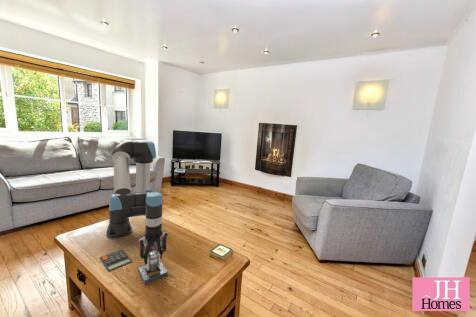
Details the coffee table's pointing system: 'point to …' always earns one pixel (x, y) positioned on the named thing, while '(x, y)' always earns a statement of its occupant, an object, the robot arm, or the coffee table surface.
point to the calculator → (115, 260)
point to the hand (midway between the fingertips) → (153, 266)
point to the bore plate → (152, 277)
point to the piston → (153, 260)
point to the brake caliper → (154, 245)
